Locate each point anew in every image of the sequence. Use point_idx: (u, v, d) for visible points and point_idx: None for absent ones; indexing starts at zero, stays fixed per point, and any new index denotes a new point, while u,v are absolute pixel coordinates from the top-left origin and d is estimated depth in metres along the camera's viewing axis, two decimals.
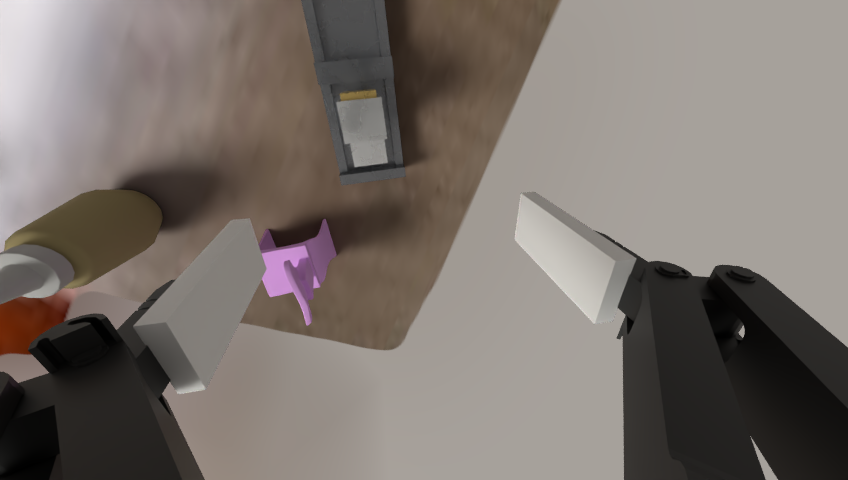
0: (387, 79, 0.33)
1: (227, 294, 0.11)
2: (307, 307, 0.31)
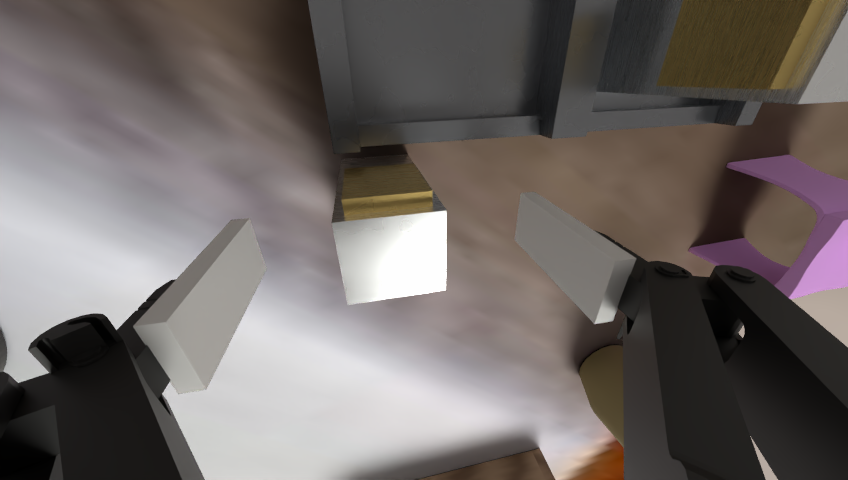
0: None
1: (227, 294, 0.11)
2: None
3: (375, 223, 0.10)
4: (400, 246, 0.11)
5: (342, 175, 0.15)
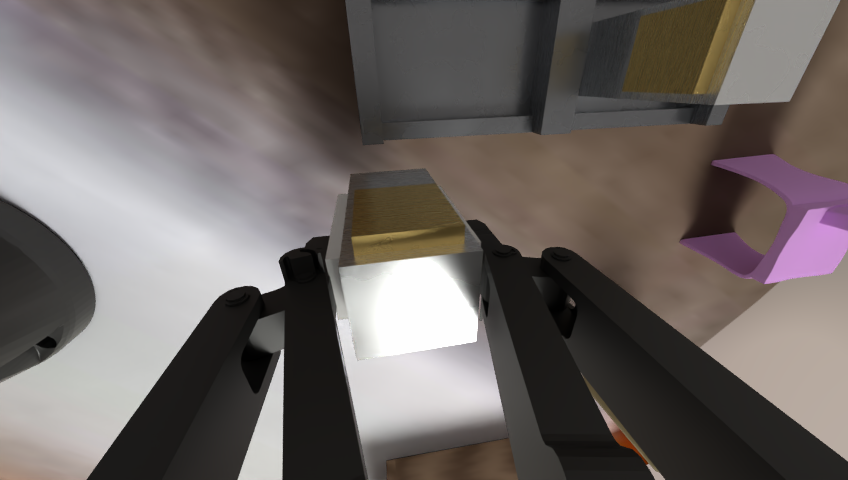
0: None
1: None
2: None
3: (393, 267, 0.08)
4: (424, 293, 0.09)
5: (351, 196, 0.13)
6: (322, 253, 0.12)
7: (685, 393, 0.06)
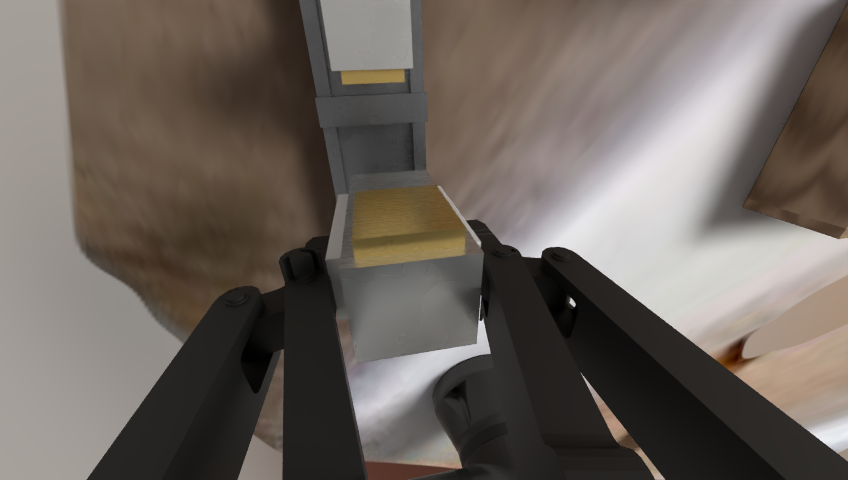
0: (326, 94, 0.22)
1: None
2: None
3: (394, 270, 0.08)
4: (424, 296, 0.09)
5: (352, 197, 0.13)
6: (322, 253, 0.12)
7: (685, 393, 0.06)
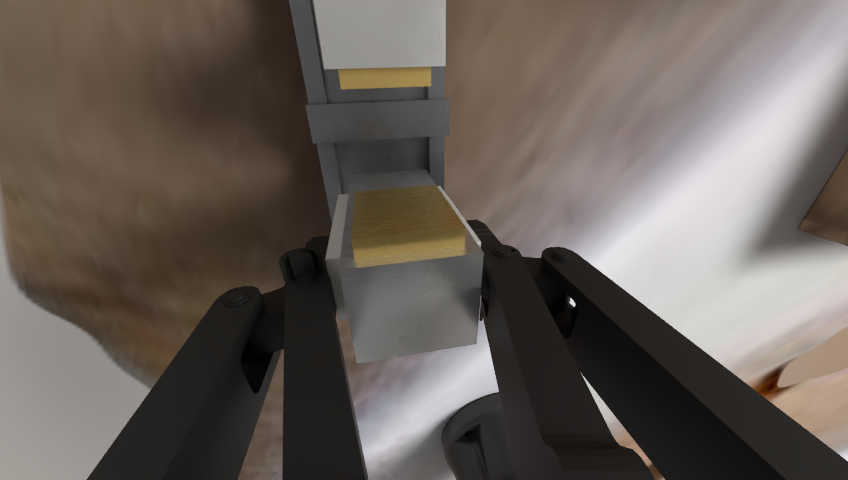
0: (320, 101, 0.17)
1: None
2: None
3: (393, 270, 0.08)
4: (425, 296, 0.09)
5: (352, 197, 0.13)
6: (322, 253, 0.12)
7: (685, 393, 0.06)
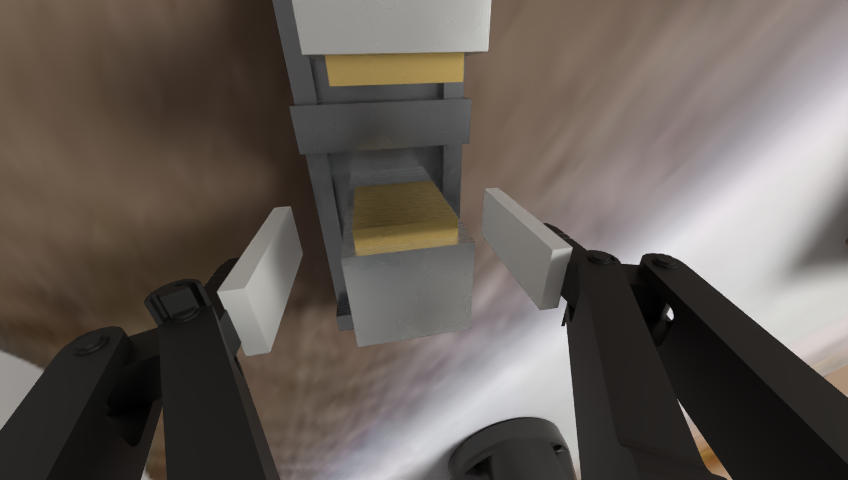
0: (309, 100, 0.14)
1: (279, 272, 0.12)
2: None
3: (391, 258, 0.09)
4: (420, 283, 0.09)
5: (352, 193, 0.13)
6: None
7: (790, 416, 0.05)
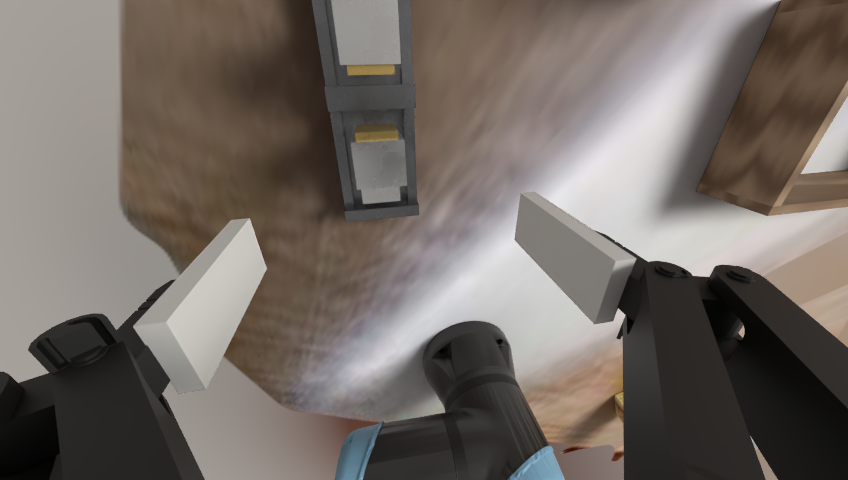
0: (332, 84, 0.27)
1: (227, 294, 0.11)
2: None
3: (370, 144, 0.22)
4: (383, 158, 0.23)
5: (354, 130, 0.27)
6: None
7: None
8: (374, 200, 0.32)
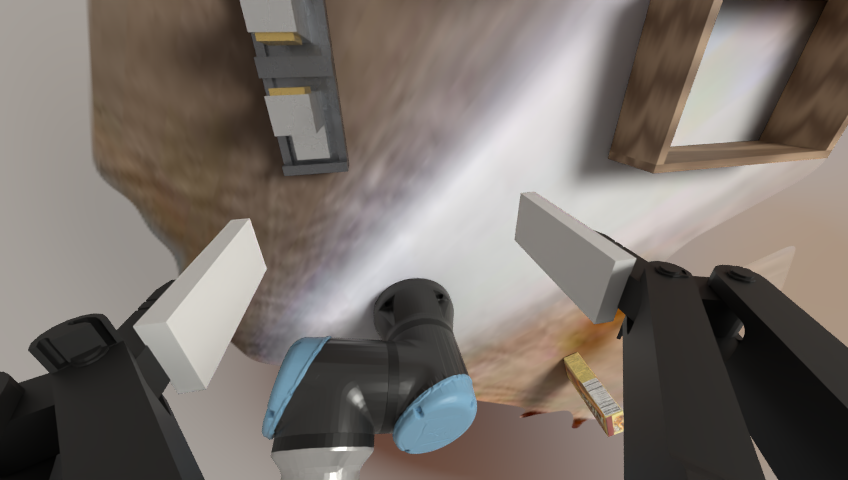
0: (263, 56, 0.33)
1: (227, 294, 0.11)
2: None
3: (280, 98, 0.28)
4: (292, 109, 0.29)
5: None
6: None
7: None
8: (307, 157, 0.38)
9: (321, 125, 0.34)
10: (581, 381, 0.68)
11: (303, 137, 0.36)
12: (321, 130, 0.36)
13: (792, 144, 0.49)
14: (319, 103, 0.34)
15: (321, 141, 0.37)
